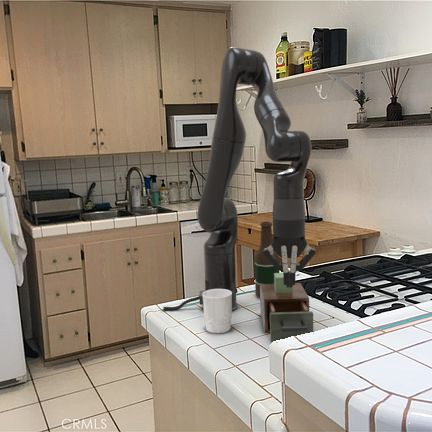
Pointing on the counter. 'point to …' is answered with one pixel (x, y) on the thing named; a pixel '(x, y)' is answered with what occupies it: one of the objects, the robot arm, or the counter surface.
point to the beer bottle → (264, 259)
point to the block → (281, 284)
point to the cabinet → (279, 299)
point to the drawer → (289, 319)
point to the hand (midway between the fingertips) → (289, 286)
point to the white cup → (217, 310)
